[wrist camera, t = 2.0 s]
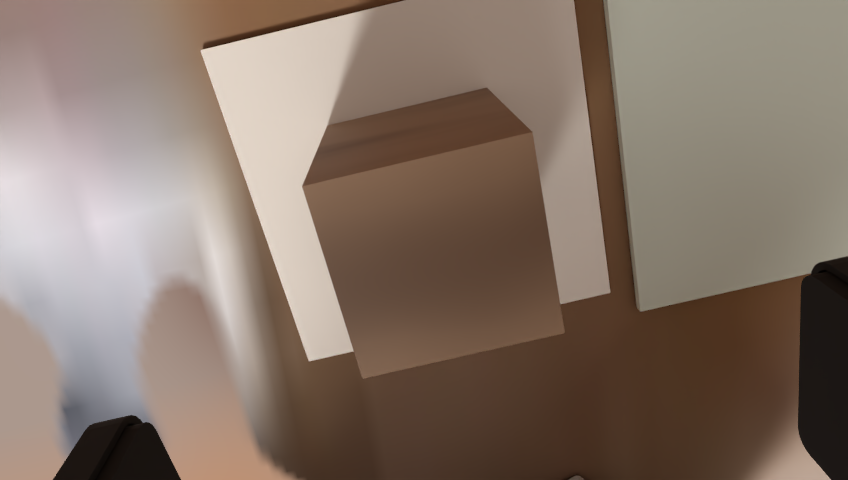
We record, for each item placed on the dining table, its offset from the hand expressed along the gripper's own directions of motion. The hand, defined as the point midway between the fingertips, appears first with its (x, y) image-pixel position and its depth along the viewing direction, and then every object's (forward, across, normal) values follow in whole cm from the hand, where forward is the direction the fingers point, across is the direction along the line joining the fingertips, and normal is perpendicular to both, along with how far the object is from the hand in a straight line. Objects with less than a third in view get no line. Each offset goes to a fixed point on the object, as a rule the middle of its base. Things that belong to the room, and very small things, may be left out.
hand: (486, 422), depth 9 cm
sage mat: (+14, -13, +1) cm, 19 cm away
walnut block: (+14, 0, +1) cm, 14 cm away
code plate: (+14, 0, +1) cm, 14 cm away
